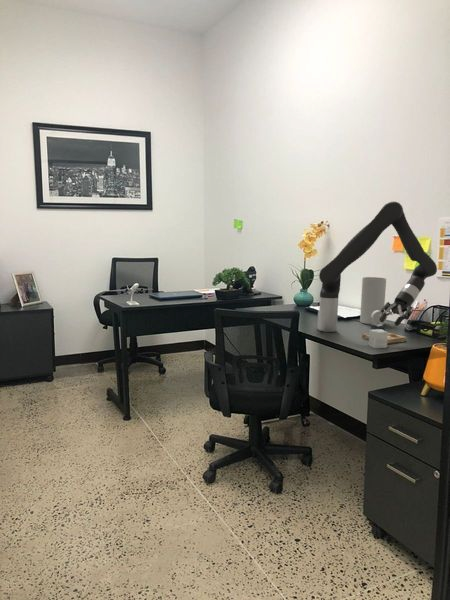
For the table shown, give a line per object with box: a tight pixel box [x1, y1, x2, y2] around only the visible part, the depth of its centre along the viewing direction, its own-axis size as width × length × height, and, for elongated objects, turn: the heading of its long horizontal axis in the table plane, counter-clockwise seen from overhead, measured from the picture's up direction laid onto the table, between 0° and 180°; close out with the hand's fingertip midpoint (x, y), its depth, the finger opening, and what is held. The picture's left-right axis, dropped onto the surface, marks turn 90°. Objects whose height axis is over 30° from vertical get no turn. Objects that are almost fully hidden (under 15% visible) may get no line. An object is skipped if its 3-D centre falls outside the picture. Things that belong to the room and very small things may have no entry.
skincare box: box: [368, 329, 389, 349], centre depth 214 cm, size 6×6×7 cm
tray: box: [361, 332, 407, 345], centre depth 228 cm, size 14×14×2 cm
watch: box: [370, 310, 388, 331], centre depth 245 cm, size 6×8×11 cm
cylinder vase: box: [359, 276, 387, 326], centre depth 267 cm, size 12×12×25 cm
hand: (388, 322), depth 216 cm, fingers open, 8 cm apart
